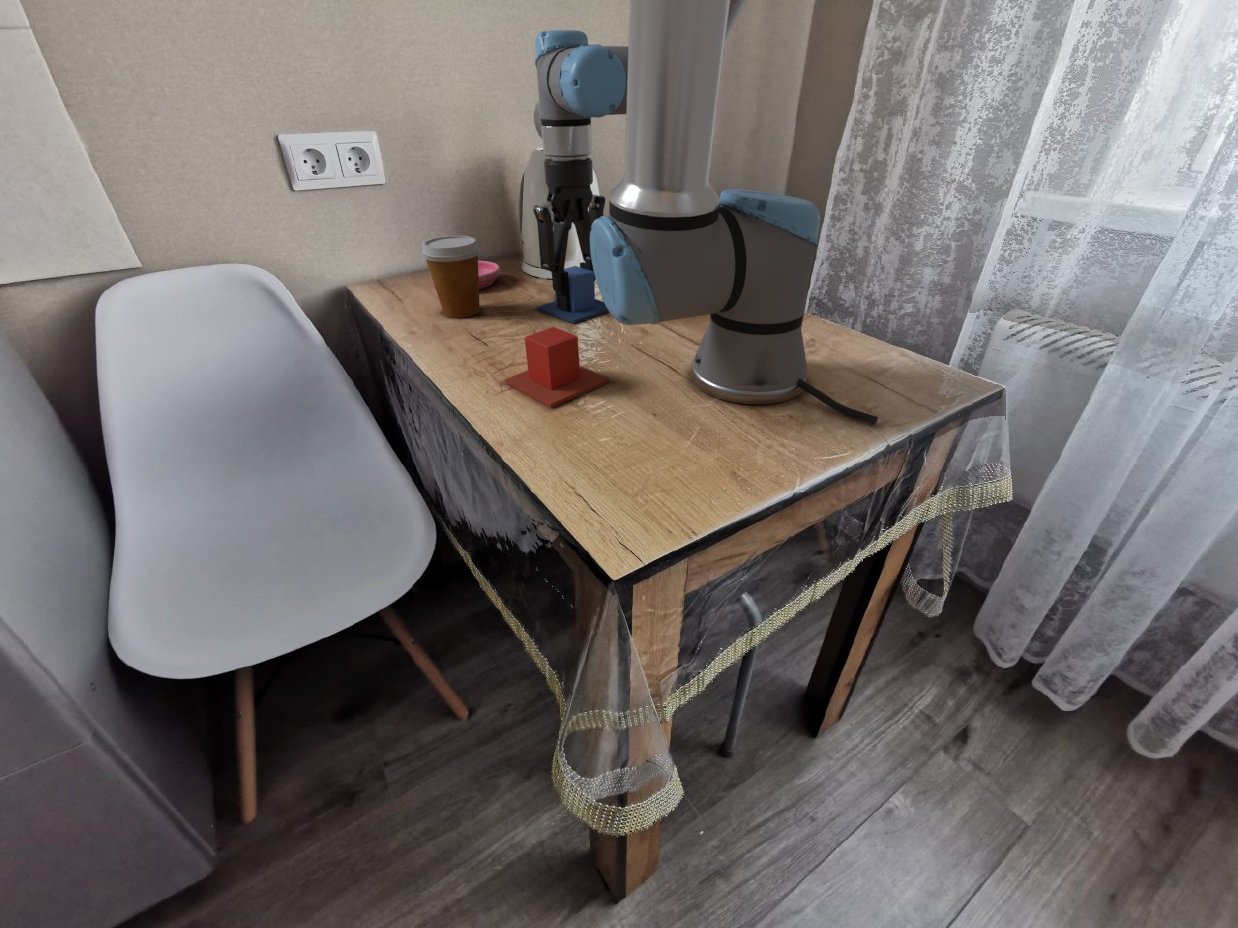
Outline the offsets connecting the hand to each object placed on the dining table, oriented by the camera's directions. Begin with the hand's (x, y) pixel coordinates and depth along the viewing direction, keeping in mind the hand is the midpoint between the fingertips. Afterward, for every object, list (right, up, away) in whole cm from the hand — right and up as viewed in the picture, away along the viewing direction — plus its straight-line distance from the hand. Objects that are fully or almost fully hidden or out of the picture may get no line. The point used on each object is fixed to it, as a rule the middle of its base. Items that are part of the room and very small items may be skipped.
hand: (576, 304), depth 100 cm
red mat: (-1, -17, -23) cm, 29 cm away
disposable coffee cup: (-20, -2, 0) cm, 20 cm away
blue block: (0, 0, 0) cm, 0 cm away
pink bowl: (-22, +8, +14) cm, 27 cm away
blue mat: (0, -1, 0) cm, 1 cm away
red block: (-1, -17, -24) cm, 29 cm away
